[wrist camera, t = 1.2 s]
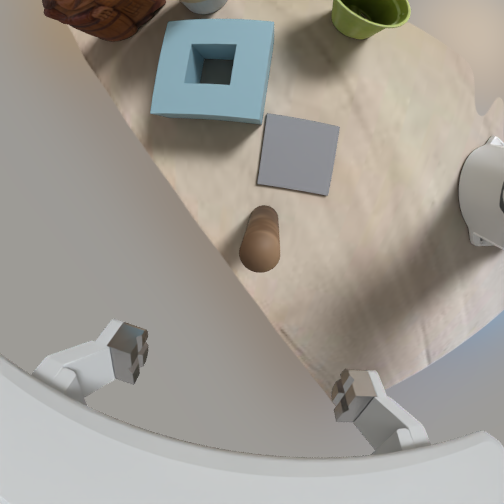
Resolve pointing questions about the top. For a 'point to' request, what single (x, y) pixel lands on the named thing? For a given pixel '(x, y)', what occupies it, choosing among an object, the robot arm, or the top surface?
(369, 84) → the top surface
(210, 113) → the socket
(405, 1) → the plant pot
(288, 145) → the pad
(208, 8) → the coffee cup
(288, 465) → the robot arm
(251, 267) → the peg
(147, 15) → the wooden figurine
